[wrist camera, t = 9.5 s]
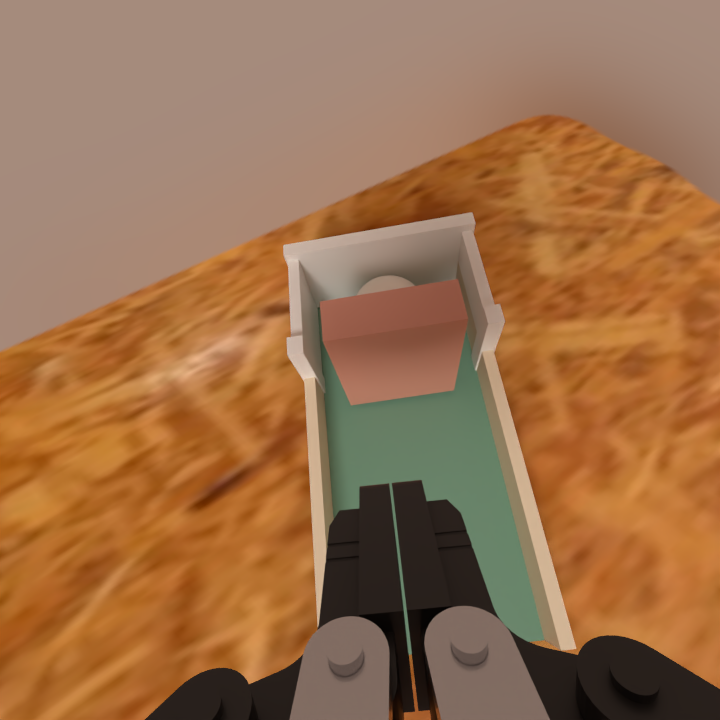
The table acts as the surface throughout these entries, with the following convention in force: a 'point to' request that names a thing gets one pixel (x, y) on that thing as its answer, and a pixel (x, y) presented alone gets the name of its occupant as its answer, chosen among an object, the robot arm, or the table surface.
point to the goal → (379, 258)
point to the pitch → (441, 479)
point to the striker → (396, 341)
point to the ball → (384, 284)
